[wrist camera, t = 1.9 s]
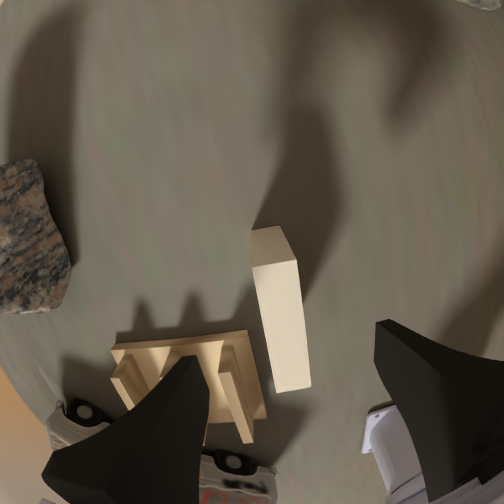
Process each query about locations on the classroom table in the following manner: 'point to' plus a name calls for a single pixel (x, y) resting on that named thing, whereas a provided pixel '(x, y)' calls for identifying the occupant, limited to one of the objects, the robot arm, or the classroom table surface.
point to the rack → (213, 367)
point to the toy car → (211, 471)
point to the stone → (29, 244)
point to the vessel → (483, 4)
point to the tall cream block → (281, 308)
